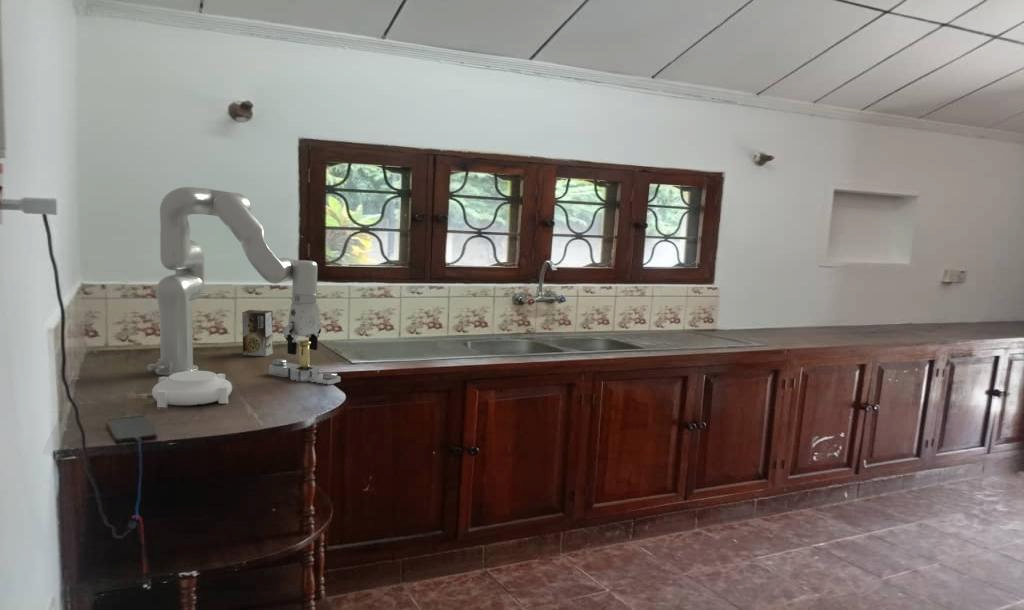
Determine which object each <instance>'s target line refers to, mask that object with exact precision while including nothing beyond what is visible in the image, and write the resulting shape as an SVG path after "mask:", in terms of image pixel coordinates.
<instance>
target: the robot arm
mask: <svg viewBox="0 0 1024 610" xmlns="http://www.w3.org/2000/svg"><path fill="white" fill-rule="evenodd" d="M159 206H160V207H159V220H160V222H159V223H160V224H159V225H160V230H159V231H160V235H159V236H160V237H159V238H160V239H159V240H160V241H159V242H160V243H159V244H160V245H159V246H160V251H159V252H160V253H159V254H160V255H159V256H160V263H161V265H162V266H163V267H164V268H165V269H167V270H168V271H175V272H174V273H175V274H171V275H167V276H164V277H163V278H162V279H161V280H160V281H159V282H158V284H157V285H156V289H155V295H156V300H157V306H158V311H159V312H158V313H159V314H158V315H159V340H160V342H159V344H160V347H159V348H160V352H159V353H160V358H158V359H157V362H156V363H150V364H147V365H146V369H147V371H150V372H151V371H154V370H155V373H156V374H157V375H159V376H166V377H169V376H170V375H172V374H175V373H179V372H185V371H199V366H198V365H196V364H194V345H193V344H194V339H193V338H194V337H193V335H194V333H193V331H194V329H193V312H192V309H191V305H190V302H192V301H195V300H197V299H199V298H200V297H201V296H202V294H203V292H204V289H205V255H204V251H203V248H202V247H201V245H200V244H199V243H197V242H196V241H194V240H192V239H191V226H190V223H189V222H190V221H189V219H188V217H189V216H190V215H204V216H205V215H206V216H214V217H218V218H219V220H221V221H222V223H223V224H224V225H225V226H226V227H227V228H228V230H229V231H230V232H231V234H232V235H234V237H235V238H236V239H237V241H238V242H239V243H240V245H241V248H242V250H243V252H244V254H245V256H246V258H247V259H248V261H249V263H250V265H252V267H253V268H254V269H255V270H256V272H257V273H258V274H259V275H260V276H261V277H262V278H263V279H264V280H265V281H266V282H268V283H270V284H274V285H275V284H281V283H283V282H284V283H285V282H290V281H292V288H291V290H292V292H291V293H292V294H291V305H290V309H289V313H288V314H289V315H288V324H287V325H286V326H285V327H284V328H282V333H283V335H284V336H283V337H284V338H285V339H286V342H287V352H286V353H287V354H289V355H297V348H298V347H297V346H298V341H297V339H298V337H304V336H308V341H311V345H310V350H313V351H317V350H318V344H319V343H318V339H319V337H320V334H321V332H322V328H323V326H324V325H323V322H321V321H320V319H321V318H320V310H319V309H320V308H319V303H318V302H317V293H318V292H317V291H318V290H317V289H318V268H319V267H318V264H317V262H316V261H313V260H306V259H305V260H304V259H301V260H300V259H298V260H297V259H293V258H287V257H281V258H279V257H276V256H277V255H275V254H274V252H273V251H272V250H271V249H270V248H269V246H268V245H267V243H266V241H265V237H264V236H265V235H264V234H265V229H264V227H263V225H262V224H261V223H260V221H258V219H257V218H256V217H255V216H254V214H253V213H252V212H251V209H252V207H251V206H252V205H251V203H250V199H248V198H247V197H246V196H245V195H243V194H241V193H239V192H230V191H229V192H228V191H225V190H224V191H223V190H217V189H212V188H211V189H210V188H207V187H206V188H205V187H194V186H192V187H191V186H182V187H178V188H175V189H173V190H171V191H170V192H168V193H167V194H166V195H165V196H164V197H163V199H162V201H161V202H160V205H159Z"/></svg>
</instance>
